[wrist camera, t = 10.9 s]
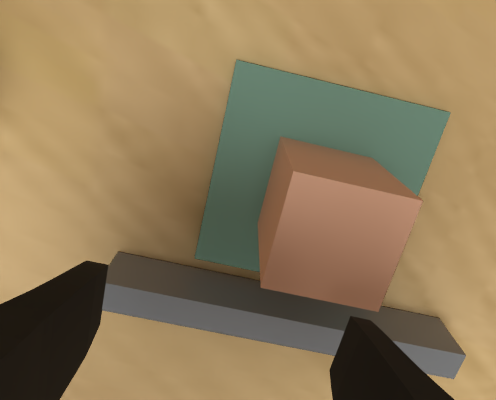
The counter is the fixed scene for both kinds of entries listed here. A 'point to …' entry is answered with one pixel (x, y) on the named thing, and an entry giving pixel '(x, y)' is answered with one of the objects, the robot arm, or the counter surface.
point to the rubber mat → (306, 130)
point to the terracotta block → (332, 225)
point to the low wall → (265, 312)
